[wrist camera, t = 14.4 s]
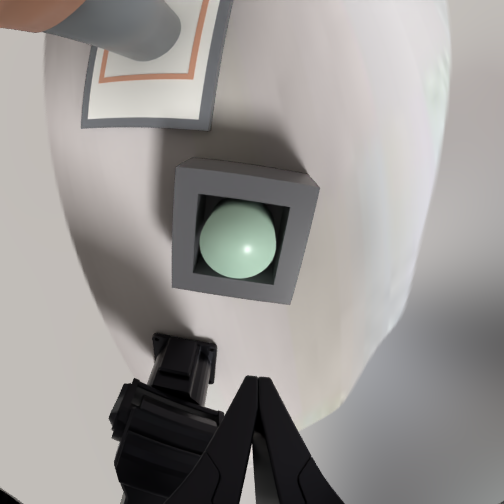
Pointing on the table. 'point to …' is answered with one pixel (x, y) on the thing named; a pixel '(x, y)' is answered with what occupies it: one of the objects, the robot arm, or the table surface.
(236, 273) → the button
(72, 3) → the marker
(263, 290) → the button housing
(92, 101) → the board
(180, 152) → the table surface
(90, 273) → the table surface
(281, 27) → the table surface
